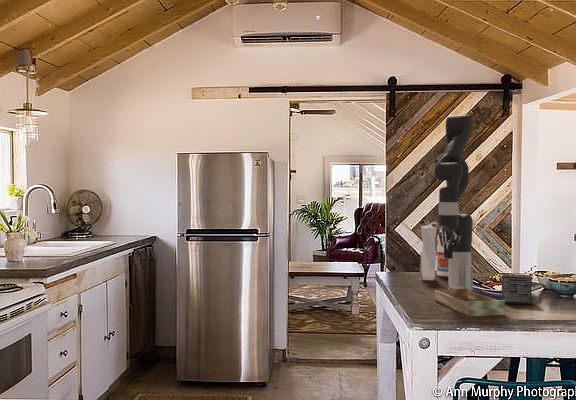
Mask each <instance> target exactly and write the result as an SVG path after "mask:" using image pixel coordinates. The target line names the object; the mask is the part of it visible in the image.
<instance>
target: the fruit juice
mask: <svg viewBox="0 0 576 400" xmlns="http://www.w3.org/2000/svg"><path fill="white" fill-rule="evenodd" d="M440 227H441V228H440V229H439V232H441V230H442V226H440ZM436 240H437V246H436V275H437V276H438V277H439V276H440V277H447V278H448V272H449V259H447V258H444V248H443V246H441V243H440V239H439V235H438V234H436Z"/></svg>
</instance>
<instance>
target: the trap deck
mask: <svg viewBox="0 0 576 400" xmlns="http://www.w3.org/2000/svg"><path fill="white" fill-rule="evenodd" d="M434 301H436V302H437V301H438V303H439V302H440V304H441V303H442V304H441V305H444V306H446V307H448V308H449V309H453V310H454V311H456V312H459V313H461V314H464V315H465V316H468V317H483V316H484V317H485V316H505V314H506V311H505V310H506V309H505V308H506V307H505V305H506V303H505V300H502V299H501V300H498V299H493V298H492V297H489V296H486V295H483V294H481V293H477V292H475V291H474V290H473V291H470V290H468V302H465V301H461V300H459V299H456V298H454V297H451V296H449V294H447V293H444V292H442V291H439V290H436V289H435V290H434Z"/></svg>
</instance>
